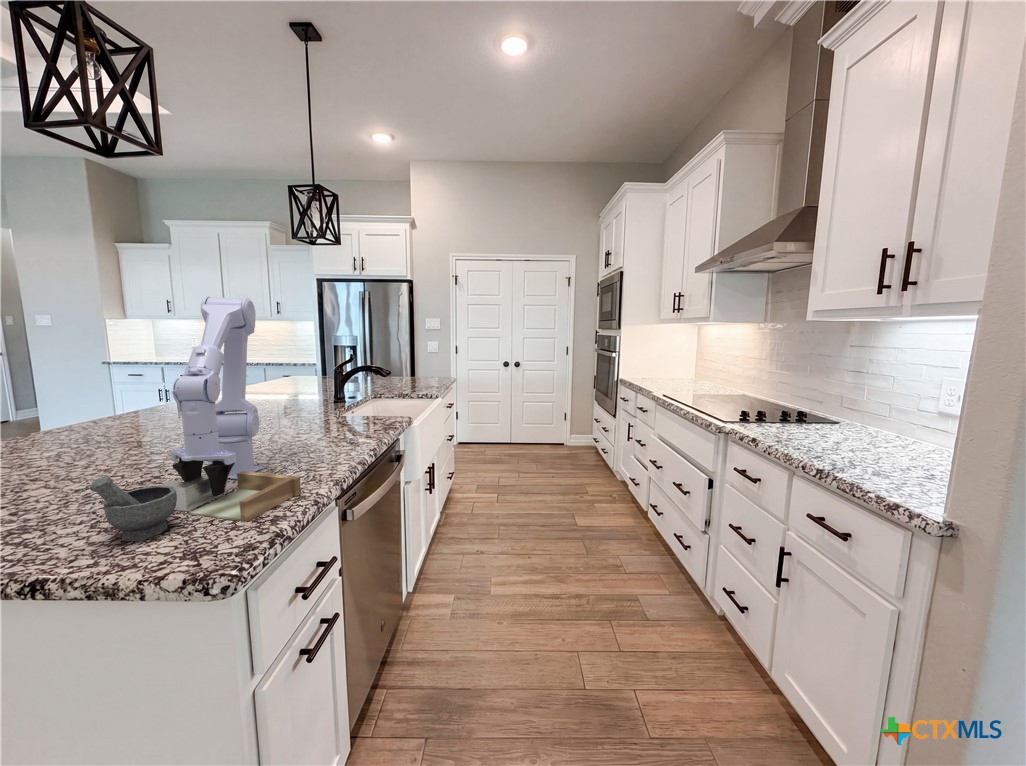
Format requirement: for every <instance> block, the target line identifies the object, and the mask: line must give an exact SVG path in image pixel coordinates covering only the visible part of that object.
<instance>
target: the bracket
mask: <svg viewBox="0 0 1026 766" xmlns="http://www.w3.org/2000/svg"><path fill="white" fill-rule="evenodd" d="M158 486H173V487H174V488H175V490H176V494H177V502H176V507H175V509H174V511H182V512H189V511H191V510H193V509H194V510H195V508H197V507H198V508H199V507H200V506H202V505H206V504H208V503H209V502H211V501H213V500H215V498H216V499H217V498H218V499H219V498H220V497H223V494H224V493H223V494H221V495H218V496H213V495H212V492H211V486H210V481H209V478H208V476H207V475H206V474H205V475H201V477H199V478H196V479H194V480H191V481H189V482H184V481H177V480H169V481H166V482H163V483H160V484H158Z"/></svg>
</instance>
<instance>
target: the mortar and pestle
mask: <svg viewBox="0 0 1026 766" xmlns="http://www.w3.org/2000/svg"><path fill="white" fill-rule="evenodd" d="M89 490H90V491H91V492H93V493H94V492H96V493H97V494H98V495H99V496H100V497H101V498H102V499H103V502H102V503H103V510H104V515H105V518H106V521H107V523H108V524H109V525H110V526H112V527H113V528H114V529H115V530H118V531H121V538H122V541H127V542H136V541H142V540H147V539H150V538H153V537H155V536H158V535H160V534H162V533H163V532H165V531H166V530H167V529H168V524H167V522H166V520H167V519H168V518H169V517H170V516H171V515H172V514H173V513H174V511H175V510H174V509H175V507H176V502H177V494H176V490H175V488H174V487H173V486H159V485H153V486H146V487H138V488H135V489H131V490H128V491H125V490H124V489H122V487H120V486H118V485H117V484H116V483H114V482H113V481H112V478H111V477H110V476H107V475H105V476H101V477H99V478H97V479H96V480H94V481H93V482H91V484H89Z"/></svg>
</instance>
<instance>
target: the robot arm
mask: <svg viewBox="0 0 1026 766" xmlns="http://www.w3.org/2000/svg"><path fill="white" fill-rule="evenodd" d="M200 312H201V316H202V317H203V320H204V323H205V325H204V329H203V333H202V334H203V335H202V339H201V342H200V343H201V344H200V345H199V346H196V347H194V348H193V349H192V351H191V354H190V356H189V358H188V362H187V365H186V368H185V370H184V373H183V375H181V376H180V377H178V378H176V379H174V381H173V385H172V391H171V392H172V397H173V400H174V401H175V403H176V406H177V410H178V413H181V421H182V432H183V442H184V447H182V448H181V447H179V448H176V449H172V450H170V458H171V460H175V461H176V460H178V461H177V462H175V463H173V464H172V469H173V470H175V471H176V472H177V473H178V475H179V476H180V477H181V479H182V482H189V481H191V480H194V479H196V478H199V477H202V475H203V474H202V471H204V473H205V475H207V476H208V478H209V481H210V486H211V492H212V495H213V496H218V495H221V494H225V491H226V486H227V481H228V479H229V478H230V479H232V480H237V473H239V472H242V471H245V472H256V473H257V472H259V471H261V470H262V469H264V466H261V465H260V466H259V465H255V460H254V458H255V457H254V446H253V438H254V437H256V436H257V434H258V433H259V431H260V430H259V429H260V419H259V413H258V412H259V409H258V408H257V406H256V405H254V404H252V403H251V402H250V401H248V400H246V393H247V391H246V388H247V386H246V385H247V362H248V361H247V360H248V359H247V358H248V353H247V352H248V339H249V336H250V335H253V334H254V333H255V328H256V308H255V305H254V302H253V301H252V300H251V299H250V298H249V297H243V298H238V297H213V296H212V297H211V296H205V297H204V298H203V299H202V301H201V303H200ZM222 347H223V352H222V351H221V350H222ZM221 369H222V383H221V377H220V372H221ZM221 385H222V386H221ZM221 387H222V388H221ZM221 391H222V392H221ZM220 394H221V400H219V401H218V399H219V397H220ZM217 401H218V402H217ZM204 462H207V465H204Z"/></svg>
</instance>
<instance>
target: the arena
mask: <svg viewBox="0 0 1026 766" xmlns="http://www.w3.org/2000/svg"><path fill="white" fill-rule="evenodd" d="M236 480H237V490H236V491H233V492H231V493H229V494H227V495H225V496H221V498H220V497H219V498H218V499H216V500H214V501H212V502H211V501H210V503H209V502H208V503H206V504H204V505H203V506H201V507H198V508H197V509H194V510H192V511H190V512H189V513H188V514H189V515H190V516H192V515H193V516H199V517H207V518H213V519H222V520H223V519H224V520H231V521H239V522H246V523H249V521H252V520H254V519H255V518H257V517H258V516H261V515H263V514H264V513H266V512H267V511H270V510H271V509H273V508H275V507H277V506H278V505H280V504H282V503H283V502H286V501H287V500H289V499H291V498H293V497H298V496H299V495H301V494H302V492H301V491H302V490H301V489H302V488H301V477H300V476H296V475H295V476H294V475H283V474H274V473H263V472H257V471H256V472H245V471H242V472H239V473H237V479H236Z"/></svg>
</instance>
